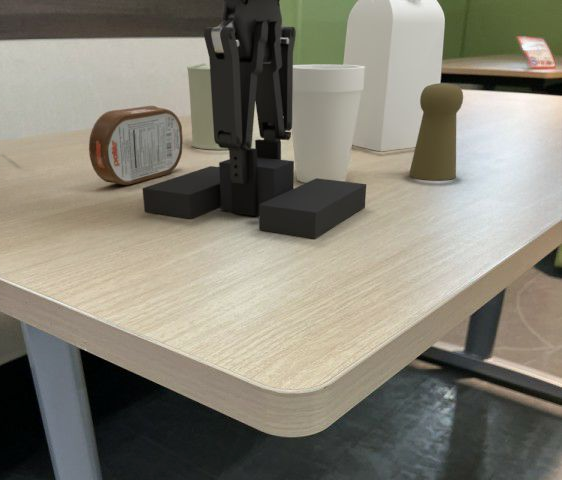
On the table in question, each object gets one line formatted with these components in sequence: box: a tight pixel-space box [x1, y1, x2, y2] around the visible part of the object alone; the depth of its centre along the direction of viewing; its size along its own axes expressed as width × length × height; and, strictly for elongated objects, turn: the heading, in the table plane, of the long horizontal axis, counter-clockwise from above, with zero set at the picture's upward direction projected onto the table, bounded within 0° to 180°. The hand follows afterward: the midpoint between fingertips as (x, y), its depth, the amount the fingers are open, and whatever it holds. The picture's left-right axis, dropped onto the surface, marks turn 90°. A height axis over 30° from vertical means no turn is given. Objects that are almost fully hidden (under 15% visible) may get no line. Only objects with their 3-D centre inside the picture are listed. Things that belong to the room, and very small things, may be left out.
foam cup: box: [291, 63, 365, 184], centre depth 77 cm, size 10×9×13 cm
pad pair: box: [141, 165, 367, 240], centre depth 67 cm, size 20×13×2 cm, turn 62°
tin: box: [88, 105, 184, 186], centre depth 78 cm, size 15×3×8 cm, turn 150°
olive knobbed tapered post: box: [409, 82, 464, 181], centre depth 80 cm, size 6×6×11 cm
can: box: [186, 62, 229, 151], centre depth 99 cm, size 9×9×12 cm
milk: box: [342, 0, 446, 152], centre depth 98 cm, size 12×12×26 cm
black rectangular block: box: [218, 157, 295, 217], centre depth 66 cm, size 6×4×5 cm
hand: (257, 207), depth 67 cm, fingers closed on black rectangular block, 4 cm apart
